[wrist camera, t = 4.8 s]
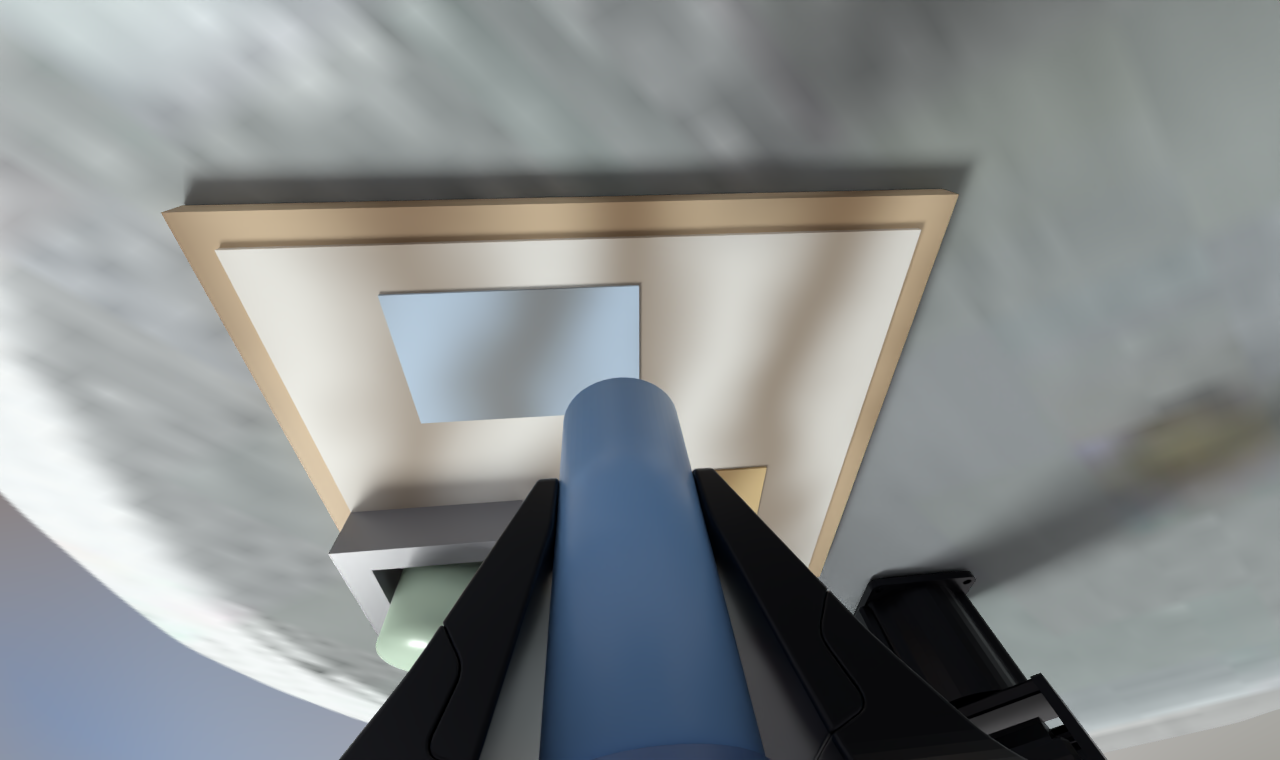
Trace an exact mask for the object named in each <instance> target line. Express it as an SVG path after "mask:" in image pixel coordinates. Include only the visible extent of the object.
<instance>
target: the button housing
mask: <svg viewBox="0 0 1280 760" xmlns="http://www.w3.org/2000/svg"><path fill="white" fill-rule="evenodd" d="M522 503H523V501H522V500H515V501H501V502H487V503H473V504H459V505H445V506H431V507H417V508H403V509H390V510H376V511H362V512H351V513H350V515H349V517H348V518H347V520H346V522H345V524H344V526H343V528H342V530H341V532H340V533H339V535H338V537H337V539H336V541H335V543H334V545H333V547H332V548H331V550H330V552H329V556H330V558H331V559H332V561H333V562H334V564H335V566H336V567H337V569H338V571H339V572H340V574H341V576H342V577H343V579H344V581H345V582H346V584H347V586H348V587H349V589H350V590H351V592H352V594H353V595H354V597H355V599H356V600H357V602H358V604H359V605H360V607H361V609H362V610H363V612H364V614H365V615H366V617H367V619H368V620H369V622H370V623H371V625H372V627H373V628H374V630H375V632H376V633H377V635H378V637H379V634H380V631H381V628H382V626H383V623H384V620H385V618H386V615H387V612H388V609H389V607H390V604H391V601H392V599H393V596H394V593H395V590H396V588H397V585H398V582H399V580H400V577H401V574H402V571H403V569H404V568H408V567H420V566H432V565H445V564H457V563H469V562H481V561H484V560H485V558H486V557H487V555H488V554H489V552H490V551H491V549H492V548H493V546H494V545H495V543H496V542H497V540H498V539H499V537H500V536H501V534H502V533H503V531H504V530H505V528H506V527H507V525H508V524H509V522H510V521H511V519H512V518H513V516H514V515H515V513H516V512H517V510H518V509H519V507H520V506H521V504H522Z"/></svg>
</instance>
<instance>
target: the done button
mask: <svg viewBox="0 0 1280 760" xmlns="http://www.w3.org/2000/svg"><path fill="white" fill-rule="evenodd" d="M482 563H483V561H481V562H469V563H457V564H445V565H432V566H420V567H408V568H404V569H403V571H402V574H401V577H400V580H399V582H398V585H397V588H396V590H395V593H394V596H393V599H392V601H391V604H390V607H389V609H388V612H387V615H386V618H385V620H384V623H383V626H382V628H381V631H380V634H379V637H378V639H377V642H376V651H377V653H378V655H379V656H380V657H381V658H382V659H383V660H384V661H385V662H387V663H388V664H390V665H392V666H394V667H396V668H398V669H401V670H405V671H409V670H410V669H411V667H412V666H413V665H414V663H415V662H416V660H417V659H418V657H419V656H420V655H421V653H422V652H423V650H424V649H425V648H426V646H427V645H428V643H429V642H430V640H431V639H432V637H433V636H434V634H435V633H436V631H437V630H438V628H439V627H440V626H444V625H443V621H444V619H445V618H446V616H447V615H448V613H449V612H450V610H451V609H452V607H453V606H454V605H455V603H456V602H457V600H458V599H459V597H460V596H461V594H462V593H463V591H464V590H465V588H466V587H467V585H468V584H469V582H470V581H471V579H472V578H473V576H474V575H475V573H476V572H477V570H478V569H479V567H480V566H481V564H482Z"/></svg>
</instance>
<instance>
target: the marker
mask: <svg viewBox="0 0 1280 760" xmlns="http://www.w3.org/2000/svg"><path fill="white" fill-rule="evenodd" d="M539 760H771V759H769V758H767V757H766V756H765V752H764V748H763V744H762V740H761V736H760V733H759V729H758V725H757V721H756V717H755V713H754V709H753V705H752V702H751V698H750V694H749V690H748V686H747V682H746V678H745V674H744V671H743V667H742V663H741V659H740V655H739V651H738V647H737V643H736V640H735V636H734V632H733V628H732V624H731V620H730V616H729V612H728V609H727V605H726V601H725V597H724V593H723V589H722V585H721V582H720V578H719V574H718V570H717V566H716V562H715V558H714V554H713V551H712V547H711V543H710V539H709V535H708V531H707V527H706V523H705V520H704V516H703V512H702V508H701V504H700V500H699V496H698V492H697V489H696V485H695V481H694V477H693V473H692V469H691V465H690V462H689V458H688V454H687V450H686V446H685V442H684V438H683V434H682V431H681V427H680V423H679V419H678V415H677V411H676V408H675V406H674V404H673V402H672V400H671V399H670V397H669V396H668V395H667V394H666V393H665V392H664V391H663V390H662V389H660V388H659V387H657V386H656V385H654V384H652V383H650V382H647V381H644V380H640V379H636V378H628V377H619V378H611V379H606V380H602V381H599V382H596V383H594V384H592V385H590V386H588V387H587V388H585V389H583V390H582V391H581V392H580V393H578V394H577V395H576V396H575V397H574V399H573V400H572V401H571V403H570V404H569V406H568V408H567V410H566V412H565V415H564V421H563V434H562V448H561V461H560V475H559V493H558V506H557V520H556V534H555V546H554V557H553V571H552V585H551V599H550V612H549V626H548V640H547V654H546V667H545V681H544V695H543V708H542V722H541V736H540V750H539Z"/></svg>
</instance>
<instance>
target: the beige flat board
mask: <svg viewBox="0 0 1280 760" xmlns="http://www.w3.org/2000/svg"><path fill="white" fill-rule="evenodd" d="M958 196H959V194H956V193H953V192H950V191H947V190H944V189H918V190H872V191H826V192H780V193H734V194H689V195H643V196H597V197H551V198H505V199H459V200H413V201H367V202H322V203H276V204H230V205H184V206H180V207H177V208H174V209H171V210H168V211H165V212H162V215H163V217H164V219H165V221H166V222H167V224H168V226H169V228H170V229H171V231H172V233H173V235H174V237H175V238H176V240H177V242H178V244H179V246H180V247H181V249H182V251H183V253H184V254H185V256H186V258H187V260H188V262H189V263H190V265H191V267H192V269H193V271H194V272H195V274H196V276H197V278H198V279H199V281H200V283H201V285H202V287H203V288H204V290H205V292H206V294H207V296H208V297H209V299H210V301H211V303H212V304H213V306H214V308H215V310H216V312H217V313H218V315H219V317H220V319H221V321H222V322H223V324H224V326H225V328H226V329H227V331H228V333H229V335H230V337H231V338H232V340H233V342H234V344H235V346H236V347H237V349H238V351H239V353H240V354H241V356H242V358H243V360H244V362H245V363H246V365H247V367H248V369H249V371H250V372H251V374H252V376H253V378H254V379H255V381H256V383H257V385H258V387H259V388H260V390H261V392H262V394H263V396H264V397H265V399H266V401H267V403H268V404H269V406H270V408H271V410H272V412H273V413H274V415H275V417H276V419H277V421H278V422H279V424H280V426H281V428H282V429H283V431H284V433H285V435H286V437H287V438H288V440H289V442H290V444H291V446H292V447H293V449H294V451H295V453H296V454H297V456H298V458H299V460H300V462H301V463H302V465H303V467H304V469H305V471H306V472H307V474H308V476H309V478H310V479H311V481H312V483H313V485H314V487H315V488H316V490H317V492H318V494H319V496H320V497H321V499H322V501H323V503H324V504H325V506H326V508H327V510H328V512H329V513H330V515H331V517H332V519H333V521H334V522H335V524H336V526H337V528H338V530H339V531H340V532H341V530H342V528H343V526H344V524H345V522H346V520H347V518H348V517H349V515H350V513H351V512H362V511H376V510H390V509H403V508H417V507H431V506H445V505H459V504H473V503H487V502H501V501H515V500H522V501H524V500H525V498H526V497H527V495H528V494H529V492H530V491H531V489H532V488H533V486H534V485H535V483H536V482H537V481H538V480H539V479H548V478H556V479H558V480H559V475H560V461H561V448H562V434H563V421H564V415H565V412H566V410H567V408H568V406H569V404H570V403H571V401H572V400H573V399H574V397H575V396H576V395H577V394H578V393H580V392H581V391H582V390H583V389H585V388H587V387H588V386H590V385H592V384H594V383H596V382H599V381H602V380H606V379H611V378H619V377H628V378H636V379H640V380H644V381H647V382H650V383H652V384H654V385H656V386H657V387H659V388H660V389H662V390H663V391H664V392H665V393H666V394H667V395H668V396H669V397H670V399H671V400H672V402H673V404H674V406H675V408H676V411H677V415H678V419H679V423H680V427H681V431H682V434H683V438H684V442H685V446H686V450H687V454H688V458H689V462H690V465H691V469H692V472H693V470H694V469H697V468H713V469H714V470H715V471H716V472H717V473H718V474H719V475H720V476H721V477H722V478H723V479H724V480H725V481H726V482H727V483H728V485H729V486H730V487H731V488H732V489H733V490H734V491H735V492H736V493H737V494H738V495H739V496H740V497H741V498H742V499H743V500H744V501H745V502H746V503H747V504H748V506H749V507H750V508H751V509H752V510H753V511H754V512H755V513H756V514H757V515H758V516H759V517H760V518H761V519H762V520H763V521H764V522H765V523H766V524H767V525H768V527H769V528H770V529H771V530H772V531H773V532H774V533H775V534H776V535H777V536H778V537H779V538H780V539H781V540H782V541H783V542H784V543H785V544H786V545H787V546H788V547H789V549H790V550H791V551H792V552H793V553H794V554H795V555H796V556H797V557H798V558H799V559H800V560H801V561H802V562H803V563H804V564H805V565H806V566H807V567H808V568H809V570H810V571H811V572H812V573H813V574H814V575H815V576H816V577H820V574H821V571H822V569H823V566H824V563H825V561H826V558H827V555H828V552H829V550H830V547H831V544H832V541H833V539H834V536H835V533H836V530H837V528H838V525H839V522H840V519H841V517H842V514H843V511H844V508H845V506H846V503H847V500H848V497H849V495H850V492H851V489H852V486H853V484H854V481H855V478H856V475H857V473H858V470H859V467H860V464H861V462H862V459H863V456H864V453H865V451H866V448H867V445H868V443H869V440H870V437H871V434H872V432H873V429H874V426H875V423H876V421H877V418H878V415H879V412H880V410H881V407H882V404H883V401H884V399H885V396H886V393H887V390H888V388H889V385H890V382H891V379H892V377H893V374H894V371H895V368H896V366H897V363H898V360H899V357H900V355H901V352H902V349H903V346H904V344H905V341H906V338H907V335H908V333H909V330H910V327H911V325H912V322H913V319H914V316H915V314H916V311H917V308H918V305H919V303H920V300H921V297H922V294H923V292H924V289H925V286H926V283H927V281H928V278H929V275H930V272H931V270H932V267H933V264H934V261H935V259H936V256H937V253H938V250H939V248H940V245H941V242H942V239H943V237H944V234H945V231H946V228H947V226H948V223H949V220H950V218H951V215H952V212H953V209H954V207H955V204H956V201H957V198H958Z"/></svg>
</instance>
